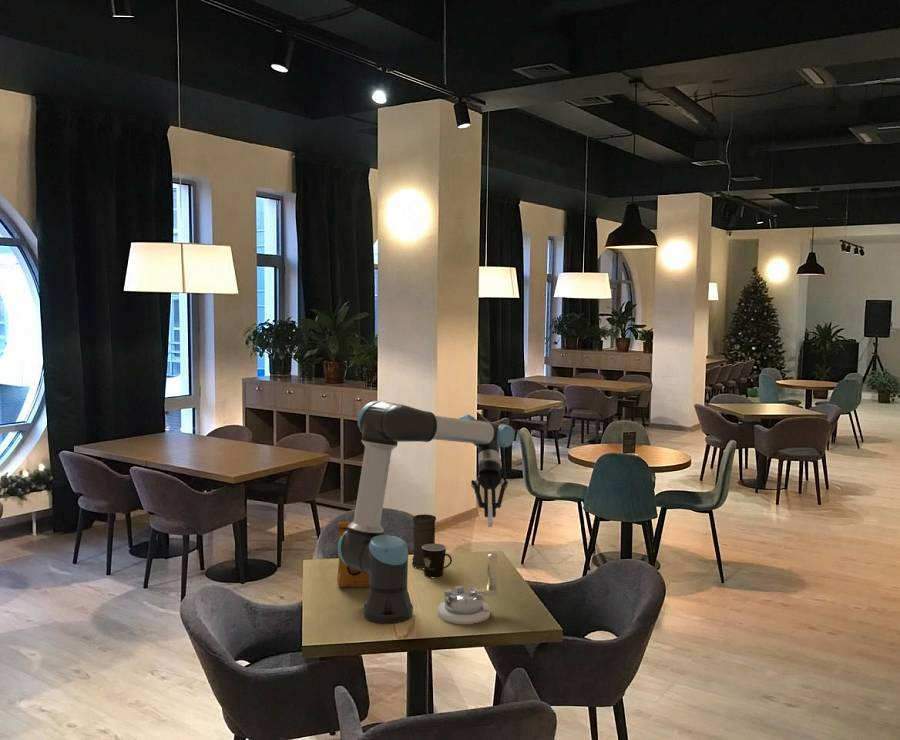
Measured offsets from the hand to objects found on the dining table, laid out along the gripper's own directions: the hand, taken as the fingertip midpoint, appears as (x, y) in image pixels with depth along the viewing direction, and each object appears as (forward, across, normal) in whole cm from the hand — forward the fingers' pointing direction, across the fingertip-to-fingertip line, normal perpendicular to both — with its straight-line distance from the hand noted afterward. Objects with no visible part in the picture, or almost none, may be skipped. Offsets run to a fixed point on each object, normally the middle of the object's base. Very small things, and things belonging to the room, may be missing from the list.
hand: (490, 525), depth 274 cm
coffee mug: (+7, +19, -25) cm, 32 cm away
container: (-1, +23, -33) cm, 40 cm away
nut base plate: (+31, +9, 0) cm, 32 cm away
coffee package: (+14, +46, -18) cm, 51 cm away
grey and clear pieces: (+29, +7, +1) cm, 30 cm away
